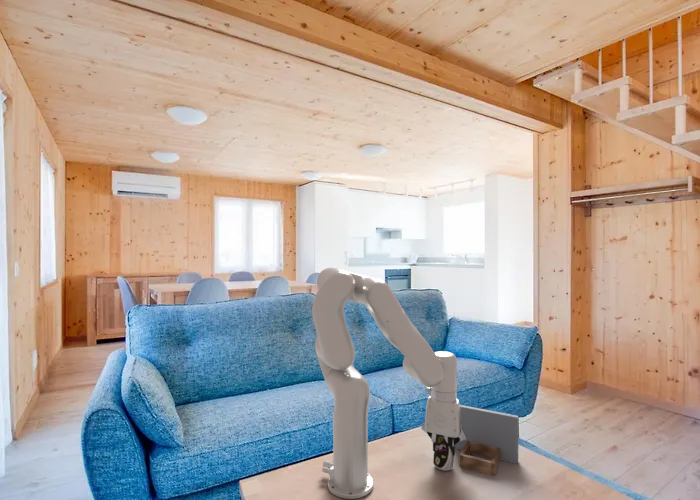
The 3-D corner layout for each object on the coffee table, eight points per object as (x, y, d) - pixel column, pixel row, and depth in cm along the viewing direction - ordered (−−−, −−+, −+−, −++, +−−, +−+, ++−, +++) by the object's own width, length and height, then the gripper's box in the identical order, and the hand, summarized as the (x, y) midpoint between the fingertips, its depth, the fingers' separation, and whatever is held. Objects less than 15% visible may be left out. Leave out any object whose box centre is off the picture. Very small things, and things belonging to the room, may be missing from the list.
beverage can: (454, 473, 115) (457, 433, 115) (433, 470, 116) (437, 431, 115) (451, 462, 121) (454, 424, 120) (432, 459, 122) (435, 421, 121)
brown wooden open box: (459, 466, 119) (459, 454, 119) (467, 451, 128) (467, 440, 128) (494, 475, 114) (494, 463, 114) (500, 459, 123) (500, 448, 123)
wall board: (451, 447, 130) (451, 405, 130) (453, 445, 132) (453, 403, 131) (517, 463, 120) (517, 417, 120) (518, 461, 122) (518, 415, 122)
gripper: (412, 393, 119) (412, 454, 119) (469, 404, 111) (469, 469, 111) (421, 385, 126) (421, 443, 126) (474, 395, 117) (475, 457, 118)
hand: (443, 455), depth 118 cm, fingers closed on beverage can, 3 cm apart
